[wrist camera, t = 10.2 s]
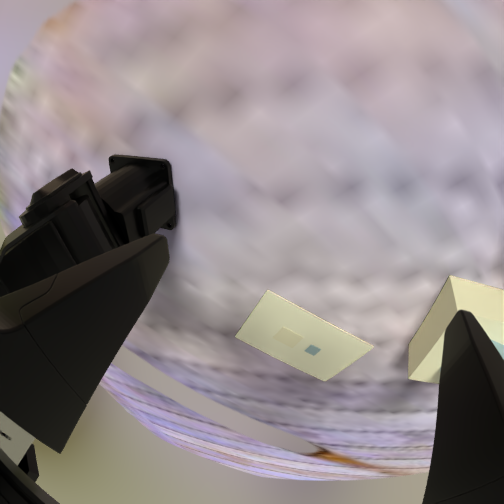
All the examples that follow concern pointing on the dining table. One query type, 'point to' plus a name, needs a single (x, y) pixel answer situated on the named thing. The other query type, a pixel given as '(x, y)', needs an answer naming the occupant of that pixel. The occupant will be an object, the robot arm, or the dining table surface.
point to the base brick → (442, 312)
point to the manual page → (300, 338)
